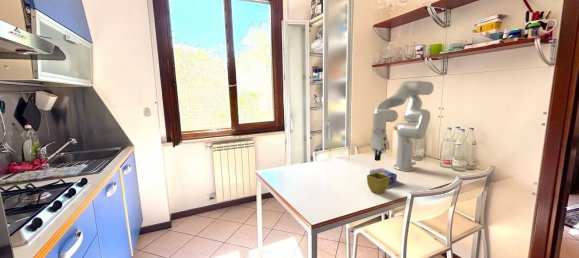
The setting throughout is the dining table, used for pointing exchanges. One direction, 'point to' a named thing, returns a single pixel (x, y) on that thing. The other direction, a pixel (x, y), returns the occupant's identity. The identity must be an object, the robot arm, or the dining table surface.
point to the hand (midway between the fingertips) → (377, 160)
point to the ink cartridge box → (385, 172)
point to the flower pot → (377, 182)
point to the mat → (395, 184)
